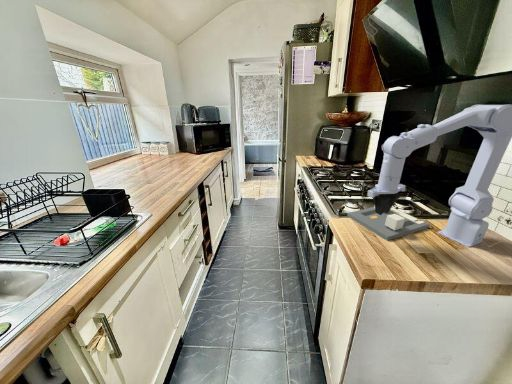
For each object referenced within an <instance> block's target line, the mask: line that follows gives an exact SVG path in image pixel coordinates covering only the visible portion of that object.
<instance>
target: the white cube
mask: <svg viewBox="0 0 512 384" xmlns="http://www.w3.org/2000/svg"><path fill="white" fill-rule="evenodd" d="M404 221H405V218H403V217H401V216H399V215H397V214H391V215H387V218H386V222H385V225H386V226H387V227H389V228H391V229H393V230H398V229H401V228H403V224H404Z"/></svg>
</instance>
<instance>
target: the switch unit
mask: <svg viewBox="0 0 512 384" xmlns="http://www.w3.org/2000/svg"><path fill="white" fill-rule="evenodd" d="M391 214H397V215H399V216H401V217H403V218H405V221H404V224H403V228H401V229H398V230H393V229H391V228H389V227H387V226H386V225H385V222H386V218H387V215H391ZM346 216H347V217H348V218H350V219H351V220H353V221H354V222H355V223H357V224H360V225H361V226H362V227H364V228H366V229H367V230H369V231H371V232H372V233H374V234H376V235H377V236H379V237H380V238H382V239H384V240H385V241H390V240H393V239H397V238H399V237H402V236H406V235H410V234H412V233H416V232H418V231H422V230H425V229H428V228H430V225H431V224H430V223H429V222H426V221H425V220H422V219H420V218H418V217H415V216H413V215H410V214H408V213H406V212H404V211H402V210H400V209H397V208H395V207H393V206H392V207H391V209H390V210H389V212H388V213H385V212H383V213H382V215H379V214H377V213H375V208H374V206H373V207H372V206H371V207H368V208H364V209H359V210H356V211H350V212H347V214H346Z"/></svg>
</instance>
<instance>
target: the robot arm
mask: <svg viewBox="0 0 512 384" xmlns="http://www.w3.org/2000/svg"><path fill="white" fill-rule="evenodd" d="M464 127H469V128H471V129H473V130H476V131H477V132H478V133H479V134H480V135H481V136H482V137H483V139H482V142H481V144H480V147H479V149H478V152H477V154H476V157H475V160H474V161H473V164H472V167H471V168H470V170H469V173H468V176H467V179H466V182H465V184H464V185H462V186H459V187H456V188H455V191H454V193H453V194H452V195H451V196H450V197H449V199H448V206H450V210H451V212H450V214H449V217H448V220H447V223H446V225H445V227H444V229H440V230H439V231H437V234H439V235H441V236H444V237H445V238H447V239H450V240H452V241H454V242H456V243H459V244H461V245H463V246H465V247H466V248H470V247H473V246H475V245H479V244H481V243H483V240H484V238H485V235H486V232H487V230H488V228H489V226H490V225H489V222H488V221H485V220H484V219H485V218H487V217H488V216H490V214H491V213H492V211H493V203H494V201H495V199H494V197H493V195H492V194H491V192H490V191H489V189H490V187H491V183H492V181H493V180H494V177H495V175H496V172H497V170H498V169H499V166H500V165H501V162H502V160H503V157H504V155H505V153H506V151H507V149H508V147H509V144H510V143H511V140H512V104H481V103H479V104H474V105H471V106H470V107H466V108H464V109H463V110H462V111H460V112H458V113H456V114H454V115H452V116H450V117H448V118H446V119H444V120H442V121H440V122H438V123H435V124H433V125H431V124H428V123H427V124H424V123H423V124H422V123H421V124H418V125H417V128H414V129H412V130H410V131H406V132H405V131H404V132H401V133H400V135H399V136H397V135H392V136H390V137H388V138H387V139H386V140H385V141H384V143H383V144H382V145H381V150H382V151H383V157H382V158H383V159H382V164H381V168H380V174H379V177H378V183H377V184H375V185H374V187H373V188H371V189H369V190H367V195H366V196H367V197H370V198H371V199H373V203H374V205H375V213H377V214H379V215H382V213H383V212H385V213H388V212H389V210H390V209H391V207H393V206H394V204H395V203H396V202H397V201H398V200H399V199H400V198H401V193H399V192H405V189H406V185H405V184H402V183H400V181H401V178H402V174H403V169H404V165H405V161H406V158H407V157H410V155H411V154H412V152H414V151H416V150H417V149H419V148H422V147H425V146H428V145H429V144H432V143H434V142H436V141H437V139H438V136H441V135H444V134H447V133H450V132H453V131H455V130H458V129H461V128H464Z"/></svg>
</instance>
